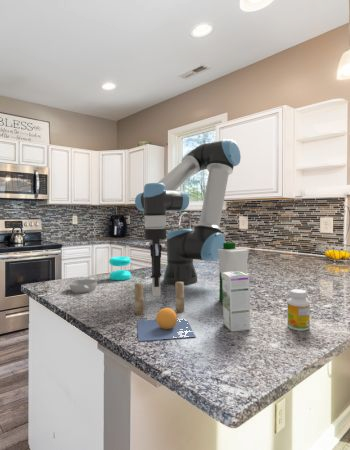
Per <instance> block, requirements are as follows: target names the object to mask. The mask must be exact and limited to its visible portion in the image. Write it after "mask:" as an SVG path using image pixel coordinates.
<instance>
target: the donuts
mask: <svg viewBox="0 0 350 450" xmlns="http://www.w3.org/2000/svg"><path fill="white" fill-rule="evenodd" d="M131 261H132V260H131V258H130V257H129V256H113V257H111V258H110V259H109V260H108V263H109V264H110V265H111V266H113V267H124V266H128V265H129V264H131ZM131 277H132V273H131V272H130V271H128V270H123V269H119V270H114V271H112V272H111V273H109V279H110V280H112V281H125V280H129V279H130V278H131Z"/></svg>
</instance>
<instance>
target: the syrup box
mask: <svg viewBox="0 0 350 450" xmlns="http://www.w3.org/2000/svg"><path fill="white" fill-rule="evenodd" d="M250 287H251V286H250V274H248V273H247V274H245V273H243V272H240V271H231V272H224V273H222V291H223V302H222V325H223V326H224V327H226V328H227V329H228V330H229V331H230V332H241V331H243V332H244V331H250V330H251V299H250V298H251V297H250V296H251V293H250Z"/></svg>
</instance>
